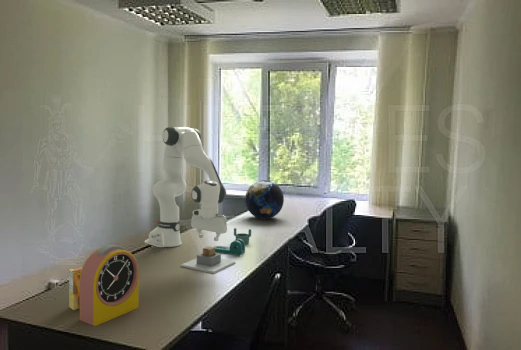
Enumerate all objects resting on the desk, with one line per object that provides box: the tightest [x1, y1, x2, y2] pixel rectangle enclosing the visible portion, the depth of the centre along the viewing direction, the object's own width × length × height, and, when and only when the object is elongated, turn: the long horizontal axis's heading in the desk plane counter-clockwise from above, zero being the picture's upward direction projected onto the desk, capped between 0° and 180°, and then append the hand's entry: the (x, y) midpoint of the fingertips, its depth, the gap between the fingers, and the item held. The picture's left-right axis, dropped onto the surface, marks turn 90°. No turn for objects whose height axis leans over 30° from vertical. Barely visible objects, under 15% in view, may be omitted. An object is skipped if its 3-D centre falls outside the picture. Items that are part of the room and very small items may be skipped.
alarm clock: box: [79, 244, 140, 327], centre depth 174 cm, size 21×9×26 cm, turn 148°
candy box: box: [68, 266, 83, 311], centre depth 180 cm, size 9×4×15 cm, turn 137°
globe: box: [244, 179, 285, 220], centre depth 356 cm, size 30×30×30 cm
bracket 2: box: [233, 227, 252, 246], centre depth 283 cm, size 9×9×9 cm
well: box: [180, 252, 236, 275], centre depth 238 cm, size 20×20×6 cm
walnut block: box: [202, 245, 216, 257], centre depth 238 cm, size 4×4×8 cm
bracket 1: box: [213, 238, 246, 256], centre depth 263 cm, size 18×7×8 cm, turn 73°
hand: (208, 239), depth 237 cm, fingers open, 8 cm apart
